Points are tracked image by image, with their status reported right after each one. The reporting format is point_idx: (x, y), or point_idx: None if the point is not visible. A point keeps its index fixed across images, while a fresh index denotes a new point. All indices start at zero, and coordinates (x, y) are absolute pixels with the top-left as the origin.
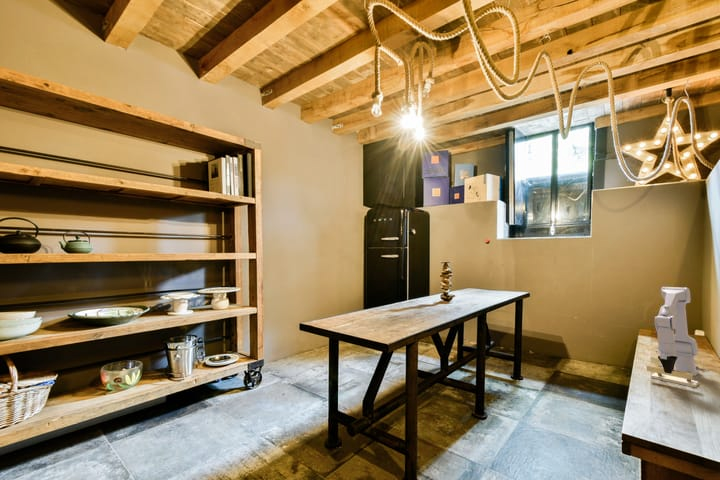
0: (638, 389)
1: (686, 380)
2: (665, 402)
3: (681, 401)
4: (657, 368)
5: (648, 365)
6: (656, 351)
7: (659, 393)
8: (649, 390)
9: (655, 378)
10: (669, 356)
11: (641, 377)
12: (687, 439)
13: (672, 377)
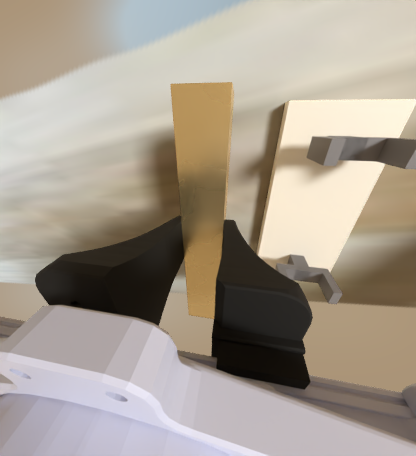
0: (13, 115)
1: (304, 253)
2: (5, 214)
3: (61, 242)
4: (179, 180)
5: (202, 96)
6: (27, 338)
7: (60, 189)
8: (53, 154)
9: (280, 129)
10: (214, 356)
11: (251, 43)
12: None
13: (325, 206)
